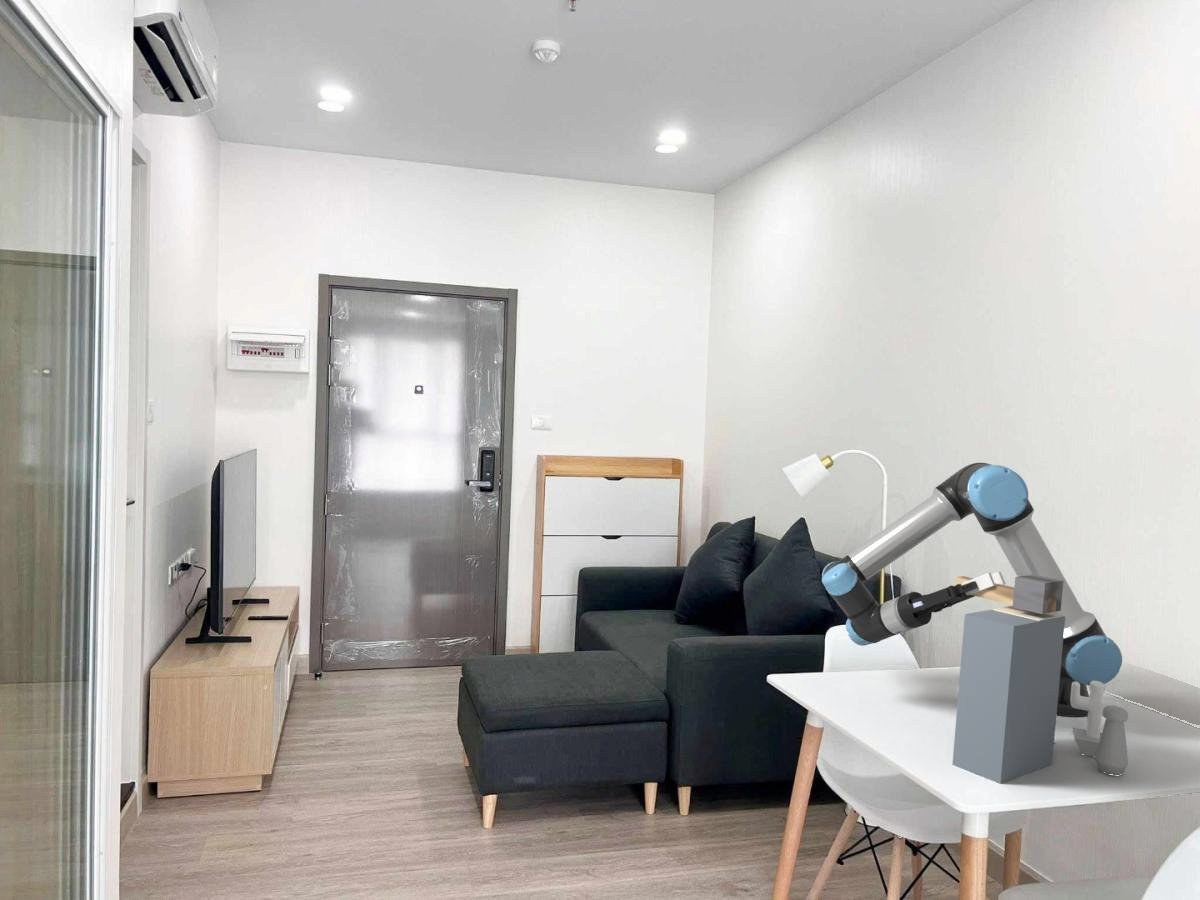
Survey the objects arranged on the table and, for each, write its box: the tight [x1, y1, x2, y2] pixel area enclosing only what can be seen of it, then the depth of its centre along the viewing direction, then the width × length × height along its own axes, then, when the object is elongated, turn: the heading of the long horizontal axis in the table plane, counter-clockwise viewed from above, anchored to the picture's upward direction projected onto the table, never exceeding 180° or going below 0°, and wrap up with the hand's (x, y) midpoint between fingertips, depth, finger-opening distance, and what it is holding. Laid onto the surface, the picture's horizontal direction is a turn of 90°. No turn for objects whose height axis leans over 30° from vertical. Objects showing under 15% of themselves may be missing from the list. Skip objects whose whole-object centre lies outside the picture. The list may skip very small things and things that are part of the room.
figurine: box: [1070, 681, 1122, 757], centre depth 190 cm, size 7×9×15 cm
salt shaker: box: [1094, 706, 1129, 776], centre depth 180 cm, size 6×6×13 cm
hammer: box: [954, 575, 1063, 614], centre depth 185 cm, size 7×20×6 cm, turn 36°
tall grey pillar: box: [952, 605, 1065, 785], centre depth 180 cm, size 19×10×30 cm, turn 126°
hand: (996, 578), depth 187 cm, fingers open, 3 cm apart
